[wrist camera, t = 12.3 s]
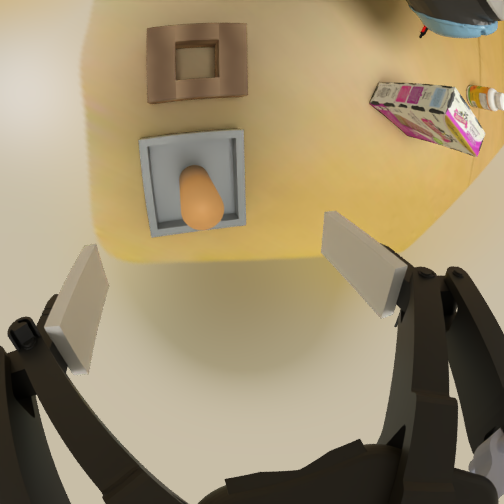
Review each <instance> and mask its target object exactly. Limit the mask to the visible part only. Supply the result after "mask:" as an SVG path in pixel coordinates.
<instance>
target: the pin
mask: <svg viewBox="0 0 504 504" xmlns="http://www.w3.org/2000/svg"><path fill="white" fill-rule="evenodd" d="M179 185H180V203H181V215H182V218H183V220H184V222H185V223H186V224H187V225H188V226H189V227H191V228H193V229H196V230H207V229H210V228H212V227H214V226H216V225H217V224H218V223H219V222H220V220H221V219H222V217H223V214H224V204H223V201H222V199H221V197H220V195H219V193H218V191H217V190H216V188H215V186H214V184H213V182H212V180H211V179H210V177H209V175H208V173H207V171H206V170H205V169H204V168H203V167H201V166H198V165H191V166H188V167H186V168H185V169H184V170H183V171H182V172H181V174H180V177H179Z"/></svg>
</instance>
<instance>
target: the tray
mask: <svg viewBox="0 0 504 504" xmlns="http://www.w3.org/2000/svg"><path fill="white" fill-rule="evenodd" d="M139 151H140V160H141V169H142V178H143V185H144V193H145V200H146V207H147V213H148V219H149V225H150V231H151V237H159V236H166V235H173V234H180V233H188V232H195V231H203V230H196V229H193V228H191V227H189V226H188V225H187V224H186V223H185V222H184V220H183V218H182V215H181V203H180V185H179V177H180V174H181V172H182V171H183V170H184V169H185V168H186V167H188V166H191V165H198V166H201V167H203V168H204V169H205V170H206V171H207V173H208V175H209V177H210V179H211V180H212V182H213V184H214V186H215V188H216V190H217V191H218V193H219V195H220V197H221V199H222V201H223V204H224V214H223V217H222V219H221V220H220V222H219V223H218V224H217V225H216V226H214V227H212V228H210V229H207V230H211V229H219V228H227V227H235V226H243V225H246V203H245V164H244V130H242V129H221V130H207V131H195V132H185V133H176V134H168V135H160V136H153V137H146V138H141V139H140V140H139Z"/></svg>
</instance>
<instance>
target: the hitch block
mask: <svg viewBox="0 0 504 504" xmlns="http://www.w3.org/2000/svg"><path fill="white" fill-rule="evenodd" d="M194 47H215V78H197V79H184V80H176V73H175V49H180V48H194ZM247 95H248V74H247V24H245V23H197V24H181V25H169V26H160V27H152V28H147V96H148V103H149V104H156V103H163V102H172V101H181V100H192V99H206V98H225V97H243V96H247Z"/></svg>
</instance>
